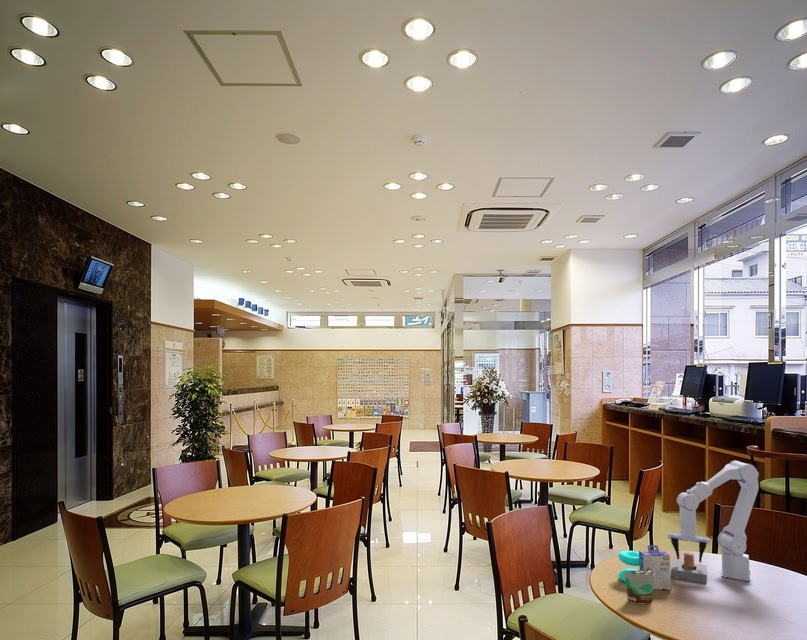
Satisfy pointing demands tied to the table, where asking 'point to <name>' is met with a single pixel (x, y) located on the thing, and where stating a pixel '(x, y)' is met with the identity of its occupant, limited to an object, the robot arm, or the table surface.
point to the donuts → (628, 562)
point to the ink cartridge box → (657, 566)
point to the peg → (689, 561)
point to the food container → (640, 585)
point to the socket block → (689, 572)
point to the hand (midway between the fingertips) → (689, 560)
